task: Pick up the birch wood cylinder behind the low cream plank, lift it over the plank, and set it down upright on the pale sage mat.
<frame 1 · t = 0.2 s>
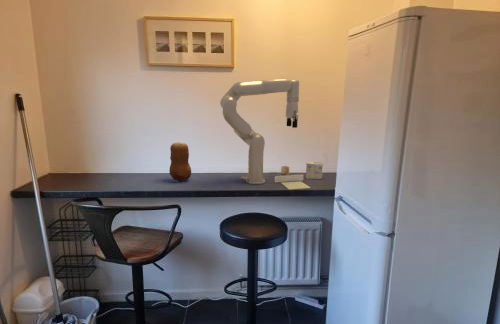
hand: (291, 126, 201), 35 cm above the breakfast bar, tool pointing down, fingers open, 9 cm apart
cream plank: (289, 181, 204), on the breakfast bar
birch cylinder: (284, 178, 211), on the breakfast bar
light bulb box: (313, 178, 214), on the breakfast bar
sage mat: (295, 185, 194), on the breakfast bar
butternut squash: (180, 180, 203), on the breakfast bar
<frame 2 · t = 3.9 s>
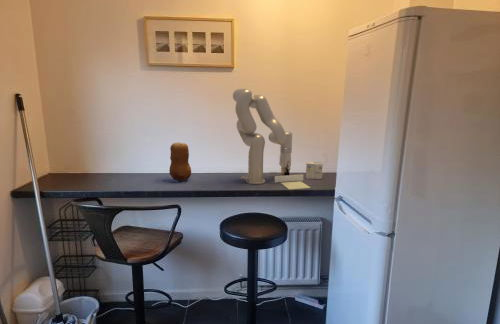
hand: (285, 176, 211), 2 cm above the breakfast bar, tool pointing down, fingers closed on birch cylinder, 5 cm apart
birch cylinder: (284, 178, 211), on the breakfast bar, touching gripper
everything else where it was.
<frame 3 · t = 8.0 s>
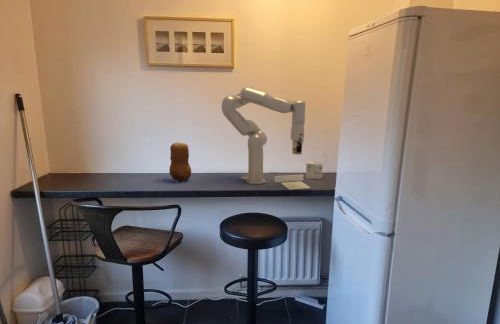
hand: (296, 151, 190), 22 cm above the breakfast bar, tool pointing down, fingers closed on birch cylinder, 5 cm apart
birch cylinder: (296, 153, 190), point 20 cm above the breakfast bar, touching gripper
everything else where it was.
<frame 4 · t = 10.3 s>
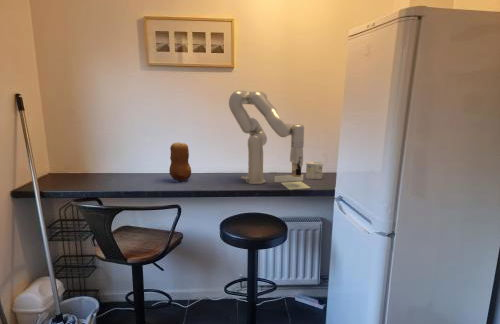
hand: (296, 173, 192), 8 cm above the breakfast bar, tool pointing down, fingers closed on birch cylinder, 5 cm apart
birch cylinder: (296, 175, 193), point 6 cm above the breakfast bar, touching gripper
everything else where it was.
when the fingers open (3 cm above the breakfast bar, at t = 12.2 s): birch cylinder drops 1 cm, resting on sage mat.
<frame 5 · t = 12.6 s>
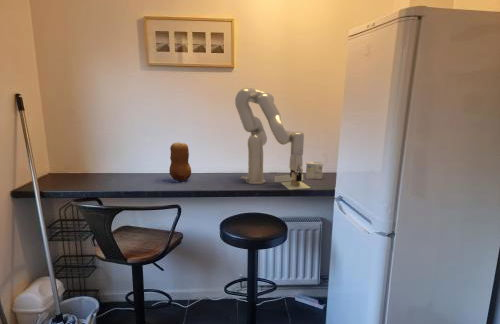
hand: (295, 179, 193), 4 cm above the breakfast bar, tool pointing down, fingers open, 9 cm apart
birch cylinder: (295, 185, 194), resting on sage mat
everything else where it was.
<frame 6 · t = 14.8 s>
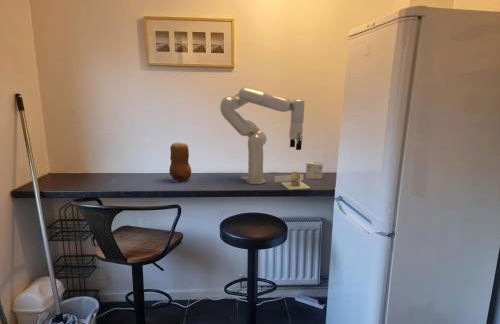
hand: (295, 148, 190), 24 cm above the breakfast bar, tool pointing down, fingers open, 9 cm apart
nothing on the breakfast bar moved.
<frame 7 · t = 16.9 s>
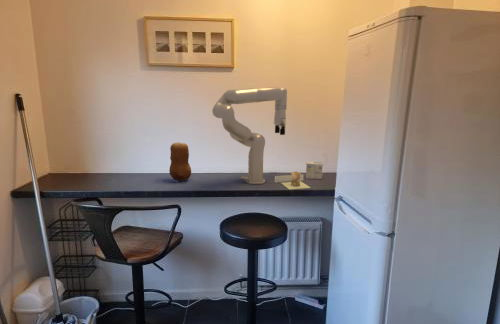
hand: (279, 133, 206), 30 cm above the breakfast bar, tool pointing down, fingers open, 9 cm apart
nothing on the breakfast bar moved.
at the end: birch cylinder inside the target area on the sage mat (0.1 cm from its centre), point 0.4 cm above the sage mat's base; birch cylinder tilted 0°; the gripper is holding nothing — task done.
